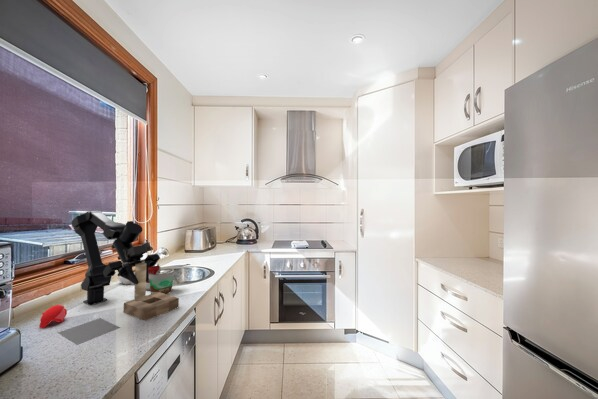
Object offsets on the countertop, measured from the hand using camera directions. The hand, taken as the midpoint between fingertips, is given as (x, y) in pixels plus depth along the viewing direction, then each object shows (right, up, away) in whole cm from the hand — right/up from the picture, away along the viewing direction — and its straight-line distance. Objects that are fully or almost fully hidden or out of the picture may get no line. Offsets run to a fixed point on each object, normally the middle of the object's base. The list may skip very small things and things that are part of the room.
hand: (142, 282), depth 94 cm
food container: (-5, -14, +25) cm, 29 cm away
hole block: (0, -14, +7) cm, 15 cm away
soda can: (-15, -14, +31) cm, 37 cm away
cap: (-29, -13, -6) cm, 32 cm away
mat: (-12, -13, -10) cm, 20 cm away
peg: (-1, -7, +1) cm, 7 cm away
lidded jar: (-32, -13, +39) cm, 52 cm away
